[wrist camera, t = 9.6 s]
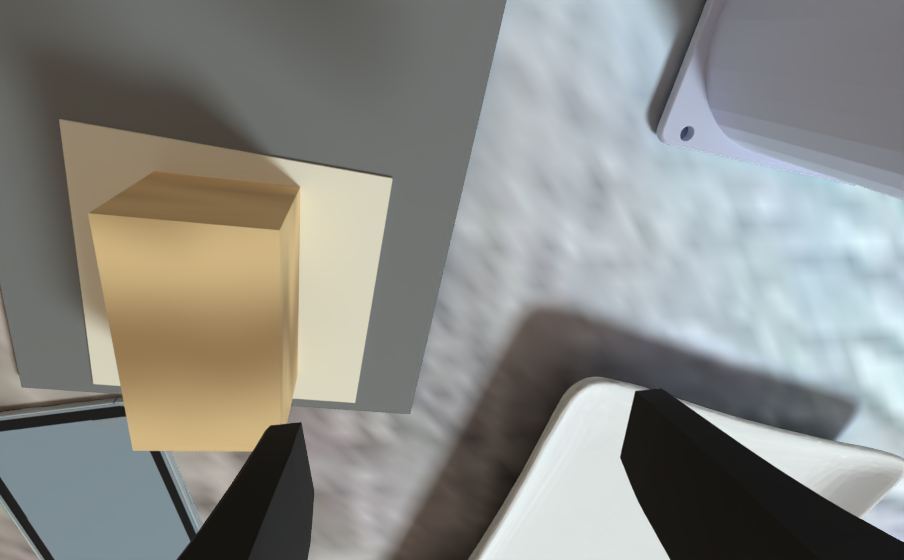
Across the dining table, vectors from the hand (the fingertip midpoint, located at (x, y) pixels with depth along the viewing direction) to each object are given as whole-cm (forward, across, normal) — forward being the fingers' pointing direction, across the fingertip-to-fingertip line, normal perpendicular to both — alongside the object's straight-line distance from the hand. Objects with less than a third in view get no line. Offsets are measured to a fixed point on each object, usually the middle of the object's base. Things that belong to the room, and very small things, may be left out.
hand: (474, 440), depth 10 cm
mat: (+9, +6, -4) cm, 12 cm away
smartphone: (+10, +15, +13) cm, 22 cm away
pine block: (+9, +7, 0) cm, 11 cm away
